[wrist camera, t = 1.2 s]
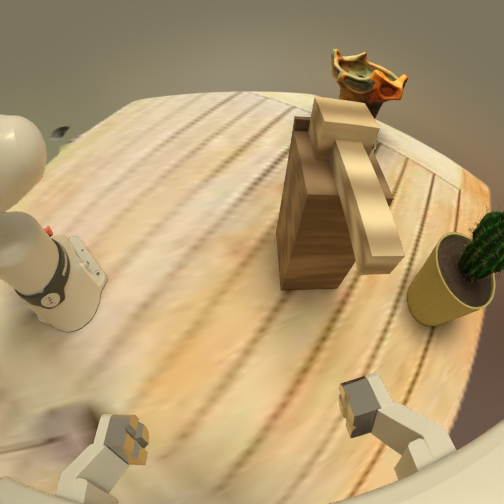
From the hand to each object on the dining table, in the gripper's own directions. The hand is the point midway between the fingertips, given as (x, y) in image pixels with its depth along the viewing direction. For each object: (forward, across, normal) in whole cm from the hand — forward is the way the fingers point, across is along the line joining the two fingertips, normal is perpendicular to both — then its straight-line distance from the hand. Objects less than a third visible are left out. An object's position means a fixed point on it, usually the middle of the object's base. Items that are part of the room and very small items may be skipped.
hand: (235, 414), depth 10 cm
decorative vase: (+78, -38, 0) cm, 87 cm away
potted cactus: (+34, -36, +30) cm, 58 cm away
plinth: (+44, -12, +18) cm, 49 cm away
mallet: (+25, -15, 0) cm, 29 cm away
